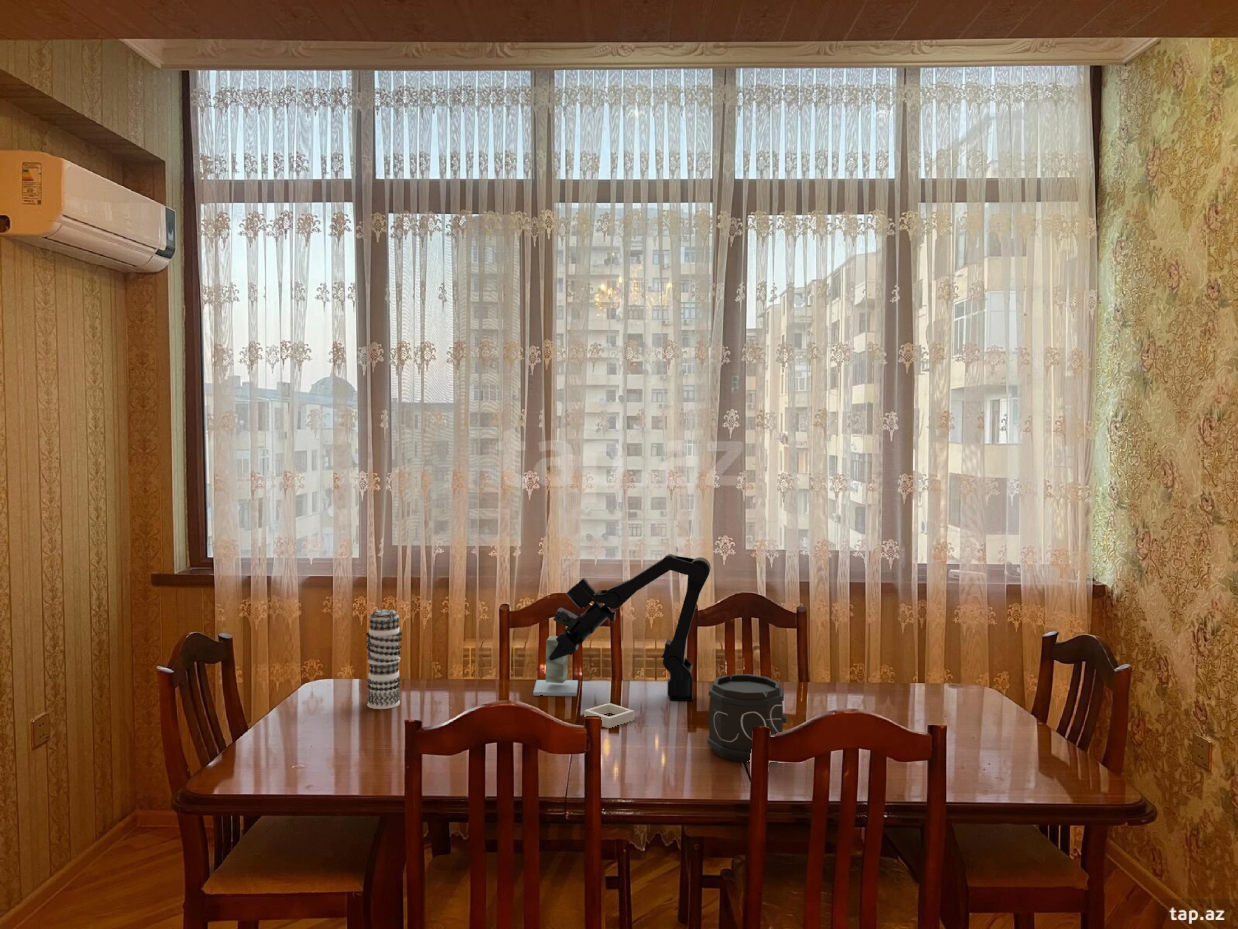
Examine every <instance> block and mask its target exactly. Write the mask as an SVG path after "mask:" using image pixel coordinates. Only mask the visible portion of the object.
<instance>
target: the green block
mask: <svg viewBox="0 0 1238 929" xmlns="http://www.w3.org/2000/svg"><path fill="white" fill-rule="evenodd" d="M558 636H559V635H558ZM558 636H557V635H550V636H549V637H547V639H546V640H545V680H546V682H550V683H564V681H565V680H567V679H568V655H566V656H563V657H560V658H557V659H555V660H552V661H551V660H550V659H549V657H550V655H551V654H552V652H553V651H554V649H555V648H556V646H557V645H558V642H557V640H556V638H557V637H558Z"/></svg>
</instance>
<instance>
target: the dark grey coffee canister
mask: <svg viewBox="0 0 1238 929" xmlns="http://www.w3.org/2000/svg"><path fill="white" fill-rule="evenodd" d="M708 696H709V706H708V724H707V726H708V738H707V744H708V745H709V746H710V748H711V751H712V752H713V753H714V754H716V755H717V754H718V756H720V757H721V758H722V759H726V760H730V761H735V762H740V763H750V762H749V760H750V753H751V749H752V731H753V727H755V726H764V727H769V728H770V731H771V734H776V733H778V732H782V733H783V726H784V724H787V723H788V715H785V714H784V704H783V701H785V691H784V689H783V688H782V687H781V683H780V682H779V681H777V680H774V679H772V678H770V677H767V676H761V675H755V674H750V673H749V674H748V673H745V674H743V673H742V674H736V673H734V674H733V673H732V674H730V675H727V674H725V675H722V676H719V677H716V678H714V681H713V683H712V684H711V685H710V687H709V691H708ZM747 761H748V762H747Z"/></svg>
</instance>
